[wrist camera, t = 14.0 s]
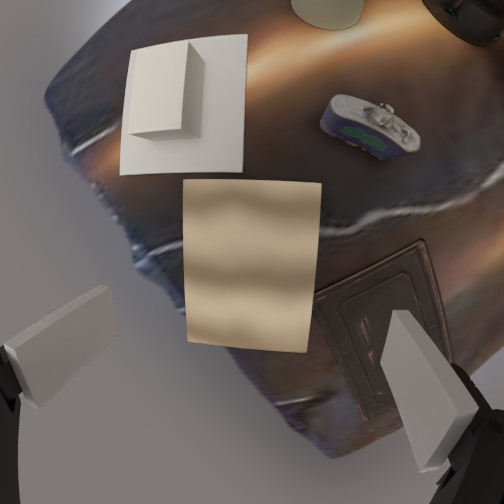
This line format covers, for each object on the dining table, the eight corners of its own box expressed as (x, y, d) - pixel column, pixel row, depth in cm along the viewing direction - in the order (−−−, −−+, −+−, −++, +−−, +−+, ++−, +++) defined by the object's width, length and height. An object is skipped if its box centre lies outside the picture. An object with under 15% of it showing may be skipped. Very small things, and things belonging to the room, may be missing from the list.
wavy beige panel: (192, 179, 27) (183, 179, 25) (318, 183, 26) (321, 183, 24) (195, 330, 31) (187, 341, 29) (305, 340, 30) (306, 352, 27)
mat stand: (133, 52, 30) (107, 33, 24) (248, 36, 28) (238, 7, 22) (122, 175, 34) (90, 175, 28) (243, 172, 32) (230, 168, 26)
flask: (316, 130, 30) (328, 105, 20) (325, 108, 30) (340, 75, 19) (387, 164, 30) (427, 157, 20) (395, 143, 29) (437, 127, 19)
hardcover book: (362, 411, 38) (364, 421, 36) (307, 292, 35) (308, 299, 33) (451, 367, 35) (456, 375, 33) (419, 236, 32) (427, 240, 30)
